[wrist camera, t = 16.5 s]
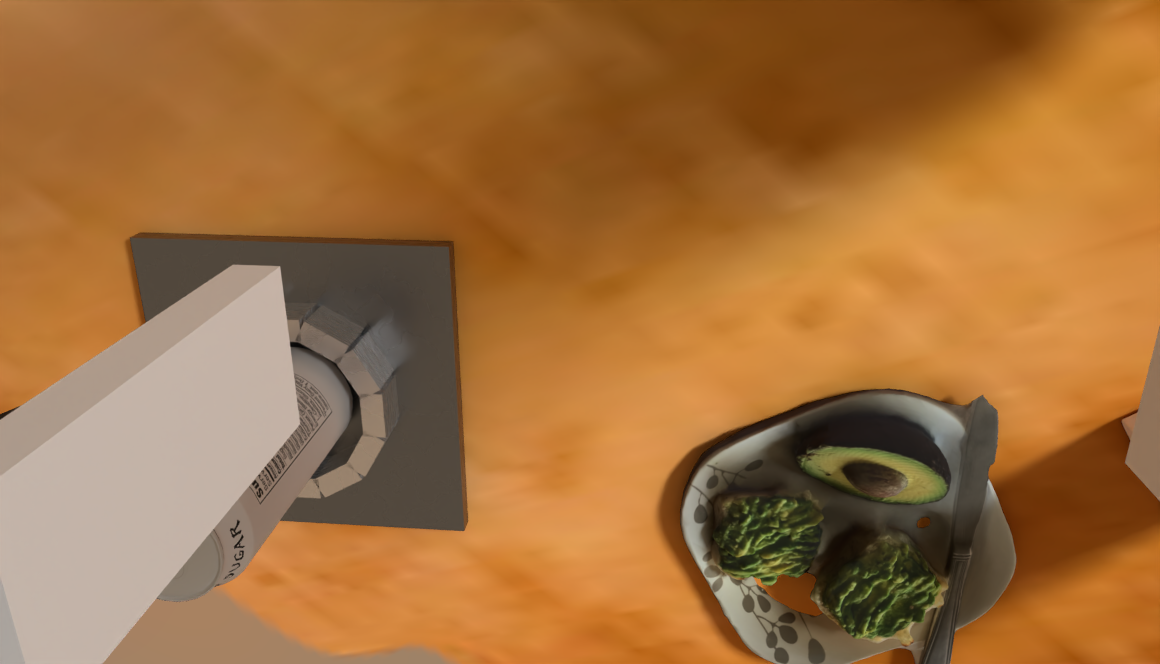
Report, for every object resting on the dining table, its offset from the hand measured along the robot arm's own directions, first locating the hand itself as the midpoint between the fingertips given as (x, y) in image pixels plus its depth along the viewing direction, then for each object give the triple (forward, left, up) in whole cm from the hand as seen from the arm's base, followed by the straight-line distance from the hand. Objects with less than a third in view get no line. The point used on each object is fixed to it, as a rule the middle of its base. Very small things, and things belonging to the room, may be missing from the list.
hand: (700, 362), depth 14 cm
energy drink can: (+16, -20, -31) cm, 40 cm away
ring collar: (+16, -20, -32) cm, 41 cm away
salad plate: (+23, +10, -32) cm, 41 cm away
